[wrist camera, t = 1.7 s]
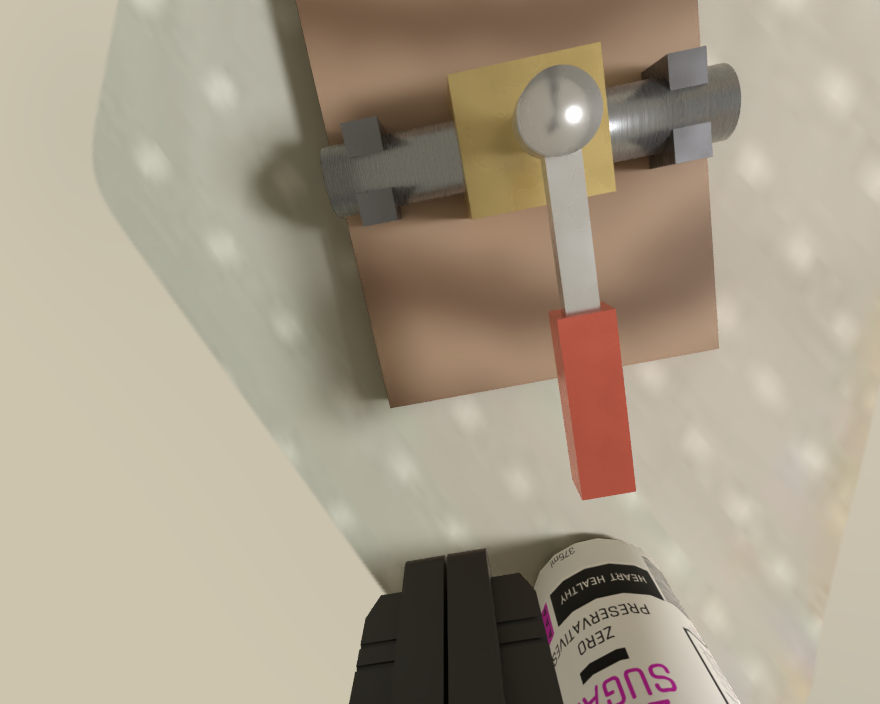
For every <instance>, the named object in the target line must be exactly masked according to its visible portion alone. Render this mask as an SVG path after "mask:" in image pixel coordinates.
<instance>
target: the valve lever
mask: <svg viewBox="0 0 880 704" xmlns="http://www.w3.org/2000/svg"><path fill="white" fill-rule="evenodd" d="M602 115H603V100H602V95H601V92H600V89H599V87H598V85H597V83H596V82H595V80H594V79H593V78H592V77H591V76H590V75H589V74H588V73H587V72H585V71H584V70H582V69H580V68H578V67H575V66H572V65H555V66H551V67H548V68H546V69H544V70H542V71H541V72H539V73H538V74H537V75H535V76H534V77H533V78H532V79H531V81H530V82H529V83H528V85H527V86H526V88H525V89H524V91H523V92H522V94H521V95H520V97H519V98H518V100H517V102H516V105H515V107H514V111H513V116H512V126H513V132H514V135H515V138H516V140H517V142H518V144H519V145H520V147H521V148H522V149H523V150H524V151H525V152H526V153H528V154H529V155H531V156H532V157H534V158H537V159H540V161H541V168H542V175H543V183H544V190H545V197H546V205H547V212H548V219H549V226H550V234H551V241H552V248H553V255H554V263H555V270H556V277H557V284H558V292H559V299H560V306H561V309H558V310H553V311H548V314H549V321H550V328H551V335H552V342H553V349H554V356H555V362H556V369H557V376H558V383H559V390H560V397H561V404H562V411H563V418H564V425H565V432H566V439H567V446H568V453H569V460H570V466H571V473H572V480H573V482H574V484H575V486H576V488H577V490H578V492H579V494H580V496H581V498H582V500H587V499H593V498H599V497H605V496H611V495H617V494H623V493H629V492H635V491H636V486H635V477H634V468H633V459H632V450H631V441H630V432H629V423H628V414H627V405H626V396H625V387H624V378H623V369H622V360H621V351H620V342H619V333H618V324H617V315H616V309H615V308H613V307H612V306H610V305H608V304H606V303H604V302H603V301H601V302H600V299H599V291H598V283H597V274H596V266H595V257H594V249H593V240H592V232H591V223H590V215H589V206H588V198H587V190H586V181H585V173H584V164H583V156H582V148H583V147H584V146H585V145H587V144H588V143H589V142H590V141H591V139H592V138H593V137H594V135H595V134H596V132H597V130H598V128H599V126H600V123H601V120H602Z"/></svg>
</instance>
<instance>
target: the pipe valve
mask: <svg viewBox="0 0 880 704" xmlns="http://www.w3.org/2000/svg"><path fill="white" fill-rule="evenodd" d="M555 65H572V66H575V67H578V68H580V69H582V70H584V71H585V72H587V73H588V74H589V75H590V76H591V77H592V78H593V79H594V80H595V82H596V83H597V85H598V87H599V89H600V92H601V95H602V100H603V115H602V120H601V123H600V126H599V128H598V130H597V132H596V134H595V135H594V137H593V138H592V139H591V141H590V142H589V143H588V144H587V145H585V146H584V147H583V148H582V156H583V164H584V173H585V181H586V190H587V197H589V196H594V195H599V194H604V193H609V192H614V191H616V184H615V174H614V165H613V163H615V162H620V161H625V160H630V159H635V158H640V157H645V156H649V168H650V169H654V168H659V167H664V166H669V165H674V164H679V163H684V162H688V161H693V160H698V159H703V158H708V157H712V156H713V152H712V143H714V142H719V141H723V140H726V139H727V138H729V137H730V136H731V134H732V133H733V131H734V129H735V127H736V125H737V122H738V118H739V114H740V107H741V91H740V85H739V80H738V77H737V75H736V72H735V71H734V69H733V68H732V67H731V66H730V65H729V64H726V63H721V64H716V65H712V66H707V50H706V46H702V47H697V48H692V49H688V50H683V51H678V52H674V53H669V54H666V55H665V56H664V57H662V58H661V59H659V60H658V61H657V62H655V63H654V64H652V65H651V66H650V67H648V68H647V69H645V70H644V71H642V72H641V77H642V80H641V81H636V82H631V83H626V84H622V85H617V86H612V87H607V88H605V79H604V69H603V60H602V50H601V42H597V43H592V44H588V45H583V46H578V47H574V48H569V49H564V50H560V51H555V52H551V53H546V54H541V55H537V56H532V57H527V58H523V59H518V60H513V61H509V62H504V63H500V64H495V65H490V66H486V67H481V68H476V69H472V70H467V71H462V72H458V73H453V74H449V75H447V105H448V110H449V116H450V121H446V122H441V123H437V124H432V125H427V126H422V127H418V128H413V129H408V130H403V131H399V132H394V133H389V134H385V130H384V126H383V125H382V123H381V122H380V120H379V119H378V118H377V116H373V117H368V118H364V119H359V120H354V121H350V122H345V123H340V126H341V130H342V135H343V139H344V143H342V144H337V145H332V146H328V147H323V148H322V149H321V166H322V172H323V177H324V182H325V186H326V189H327V193H328V196H329V199H330V202H331V205H332V207H333V209H334V211H335V213H336V215H337V216H338V217H339V218H344V217H349V216H354V215H359V214H361V219H362V223H363V227H365V226H371V225H376V224H381V223H386V222H391V221H396V220H401V219H403V217H402V212H401V207H400V206H403V205H408V204H413V203H418V202H423V201H428V200H433V199H438V198H443V197H447V196H452V195H457V194H462V193H463V196H464V201H465V207H466V213H467V219H471V220H474V219H479V218H484V217H489V216H494V215H499V214H504V213H509V212H514V211H519V210H524V209H529V208H534V207H539V206H544V205H546V197H545V190H544V183H543V175H542V168H541V161H540V159H537V158H534V157H532V156H531V155H529V154H528V153H526V152H525V151H524V150H523V149H522V148H521V147H520V145H519V144H518V142H517V140H516V138H515V135H514V132H513V126H512V116H513V111H514V107H515V105H516V102H517V100H518V98H519V97H520V95H521V94H522V92H523V91H524V89H525V88H526V86H527V85H528V83H529V82H530V81H531V79H532V78H533V77H534V76H535V75H537V74H538V73H539V72H541V71H542V70H544V69H546V68H548V67H551V66H555Z"/></svg>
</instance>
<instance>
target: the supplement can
mask: <svg viewBox="0 0 880 704" xmlns="http://www.w3.org/2000/svg"><path fill="white" fill-rule="evenodd" d="M534 590H535V591H536V593H537V597H538V601H539V605H540V610H541V614H542V618H543V622H544V626H545V630H546V634H547V638H548V642H549V646H550V650H551V654H552V658H553V662H554V666H555V670H556V675H557V679H558V683H559V687H560V691H561V695H562V699H563V703H564V704H741V703H740V701H739V700H738V698H737V696H736V695H735V693H734V692H733V690H732V688H731V687H730V685H729V683H728V682H727V680H726V678H725V677H724V675H723V673H722V672H721V670H720V668H719V667H718V665H717V663H716V662H715V660H714V658H713V657H712V655H711V654H710V652H709V650H708V649H707V647H706V645H705V644H704V642H703V640H702V639H701V637H700V635H699V634H698V632H697V630H696V629H695V627H694V625H693V624H692V622H691V621H690V619H689V617H688V616H687V614H686V612H685V611H684V609H683V607H682V606H681V604H680V602H679V601H678V599H677V597H676V596H675V594H674V592H673V591H672V589H671V587H670V586H669V584H668V583H667V581H666V579H665V578H664V576H663V574H662V573H661V571H660V569H659V568H658V566H657V564H656V563H655V562H654V561H653V560H652V559H651V558H650V557H649V556H648V555H647V554H646V553H645V552H644V551H643V550H642V549H640V548H638V547H635V546H633V545H631V544H628V543H626V542H624V541H621V540H612V539H600V538H596V539H592V540H587V541H583V542H578V543H574V544H572V545H571V546H569V547H567V548H566V549H564V550H562V551H560V552H559V553H557V554H555V555H554V556H553V557H552V558H551V559H550V560H549V562H548V563H547V564H546V565H545V566H544V567H543V568H542V569H541V571H540V572H539V575H538V578H537V581H536V583H535V586H534Z"/></svg>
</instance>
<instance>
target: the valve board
mask: <svg viewBox="0 0 880 704" xmlns="http://www.w3.org/2000/svg"><path fill="white" fill-rule="evenodd" d="M296 4H297V9H298V13H299V17H300V22H301V26H302V30H303V34H304V39H305V43H306V47H307V52H308V56H309V60H310V65H311V69H312V73H313V77H314V82H315V86H316V90H317V95H318V99H319V103H320V108H321V112H322V116H323V120H324V125H325V129H326V133H327V138H328V142H329V146H332V145H337V144H342V143H344V139H343V135H342V130H341V126H340V123H345V122H350V121H354V120H359V119H364V118H368V117H373V116H377V118H378V119H379V120H380V122H381V123H382V125H383V126H384V130H385V134H389V133H394V132H399V131H403V130H408V129H413V128H418V127H422V126H427V125H432V124H437V123H441V122H446V121H450V116H449V110H448V105H447V75H449V74H453V73H458V72H462V71H467V70H472V69H476V68H481V67H486V66H490V65H495V64H500V63H504V62H509V61H513V60H518V59H523V58H527V57H532V56H537V55H541V54H546V53H551V52H555V51H560V50H564V49H569V48H574V47H578V46H583V45H588V44H592V43H597V42H601V50H602V60H603V69H604V79H605V88H607V87H612V86H617V85H622V84H626V83H631V82H636V81H641V80H642V77H641V72H642V71H644V70H645V69H647V68H648V67H650V66H651V65H652V64H654V63H655V62H657V61H658V60H659V59H661V58H662V57H664V56H665V55H666V54H669V53H674V52H678V51H683V50H688V49H692V48H697V47H700V33H699V17H698V1H697V0H296ZM613 165H614V174H615V184H616V191H614V192H609V193H604V194H599V195H594V196H589V197H587V198H588V206H589V215H590V223H591V232H592V240H593V249H594V257H595V266H596V274H597V283H598V291H599V299H600V302H601V301H603V302H604V303H606V304H608V305H610V306H612V307H613V308H615V309H616V315H617V324H618V333H619V342H620V351H621V360H622V366H626V365H631V364H637V363H642V362H648V361H653V360H659V359H664V358H670V357H675V356H681V355H686V354H692V353H697V352H703V351H708V350H714V349H719V342H718V326H717V309H716V293H715V277H714V261H713V244H712V228H711V212H710V196H709V179H708V163H707V158H703V159H698V160H693V161H688V162H684V163H679V164H674V165H669V166H664V167H659V168H654V169H650V168H649V156H645V157H640V158H635V159H630V160H625V161H620V162H615V163H613ZM400 207H401V212H402V217H403V219H401V220H396V221H391V222H386V223H381V224H376V225H371V226H365V227H363V223H362V219H361V214H359V215H354V216H349V217H346V219H347V224H348V228H349V232H350V237H351V241H352V245H353V249H354V254H355V258H356V262H357V267H358V271H359V275H360V280H361V284H362V288H363V292H364V297H365V301H366V305H367V310H368V314H369V318H370V323H371V327H372V331H373V335H374V340H375V344H376V348H377V353H378V357H379V361H380V366H381V370H382V374H383V378H384V383H385V387H386V391H387V396H388V400H389V404H390V408H394V407H400V406H405V405H411V404H416V403H422V402H427V401H433V400H438V399H444V398H449V397H455V396H460V395H466V394H471V393H477V392H482V391H488V390H493V389H499V388H504V387H510V386H515V385H521V384H526V383H532V382H537V381H543V380H549V379H554V378H558V376H557V369H556V362H555V356H554V349H553V342H552V335H551V328H550V321H549V314H548V311H553V310H558V309H561V306H560V299H559V292H558V284H557V277H556V270H555V263H554V255H553V248H552V241H551V234H550V226H549V219H548V212H547V205H544V206H539V207H534V208H529V209H524V210H519V211H514V212H509V213H504V214H499V215H494V216H489V217H484V218H479V219H474V220H471V219H467V213H466V207H465V201H464V196H463V193H462V194H457V195H452V196H447V197H443V198H438V199H433V200H428V201H423V202H418V203H413V204H408V205H403V206H400Z"/></svg>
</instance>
